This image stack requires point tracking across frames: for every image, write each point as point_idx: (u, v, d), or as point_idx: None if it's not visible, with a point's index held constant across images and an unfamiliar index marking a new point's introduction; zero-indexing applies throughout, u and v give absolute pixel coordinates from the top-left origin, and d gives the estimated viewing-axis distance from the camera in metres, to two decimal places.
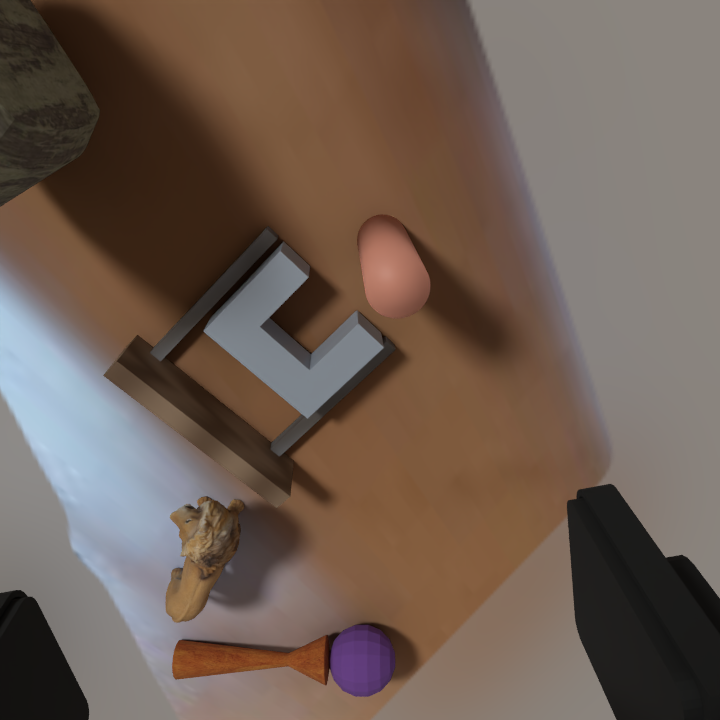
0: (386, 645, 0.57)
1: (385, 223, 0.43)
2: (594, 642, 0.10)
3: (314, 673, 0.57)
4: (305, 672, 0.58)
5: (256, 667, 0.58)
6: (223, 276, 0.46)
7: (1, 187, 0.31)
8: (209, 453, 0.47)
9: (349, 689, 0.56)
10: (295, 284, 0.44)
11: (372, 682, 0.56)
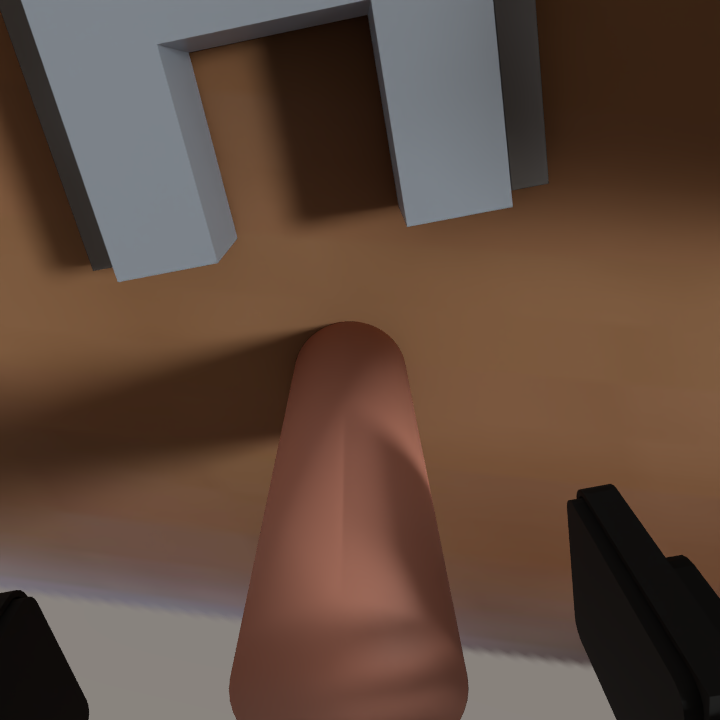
0: None
1: None
2: (594, 642, 0.10)
3: None
4: None
5: None
6: None
7: None
8: None
9: None
10: (412, 183, 0.15)
11: None
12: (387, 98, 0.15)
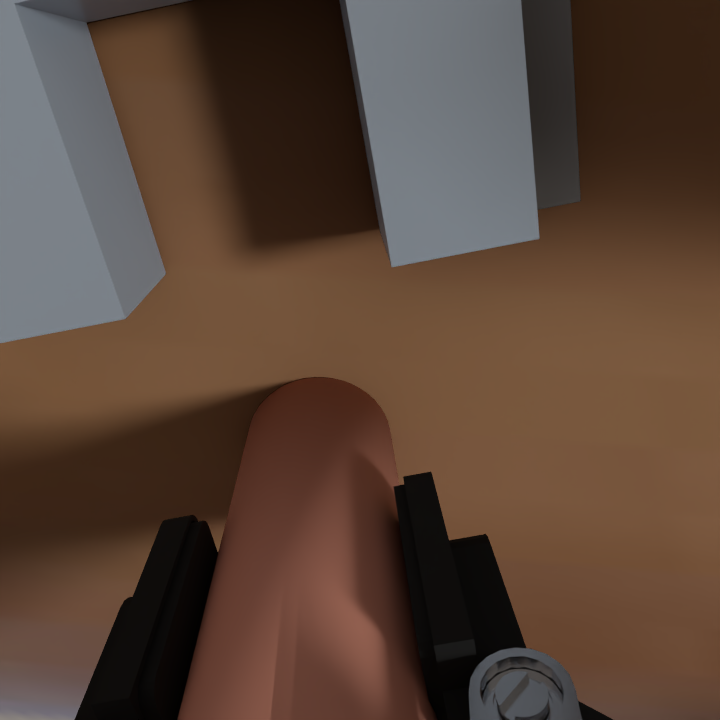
0: None
1: None
2: None
3: None
4: None
5: None
6: None
7: None
8: None
9: None
10: (399, 206, 0.11)
11: None
12: (361, 85, 0.10)
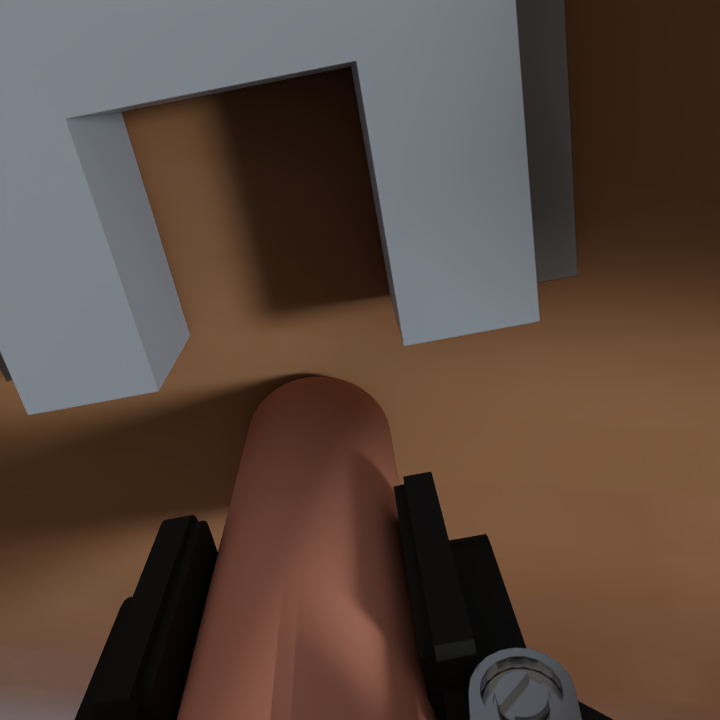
0: None
1: None
2: None
3: None
4: None
5: None
6: (561, 41, 0.12)
7: None
8: None
9: None
10: (411, 293, 0.12)
11: None
12: (378, 188, 0.11)
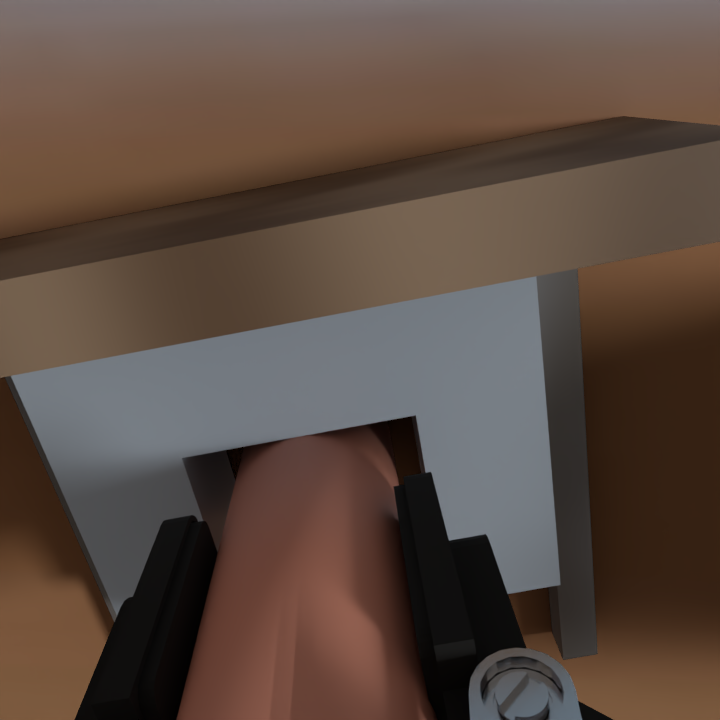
0: None
1: None
2: None
3: None
4: None
5: None
6: (587, 524, 0.17)
7: None
8: (149, 266, 0.10)
9: None
10: None
11: None
12: None
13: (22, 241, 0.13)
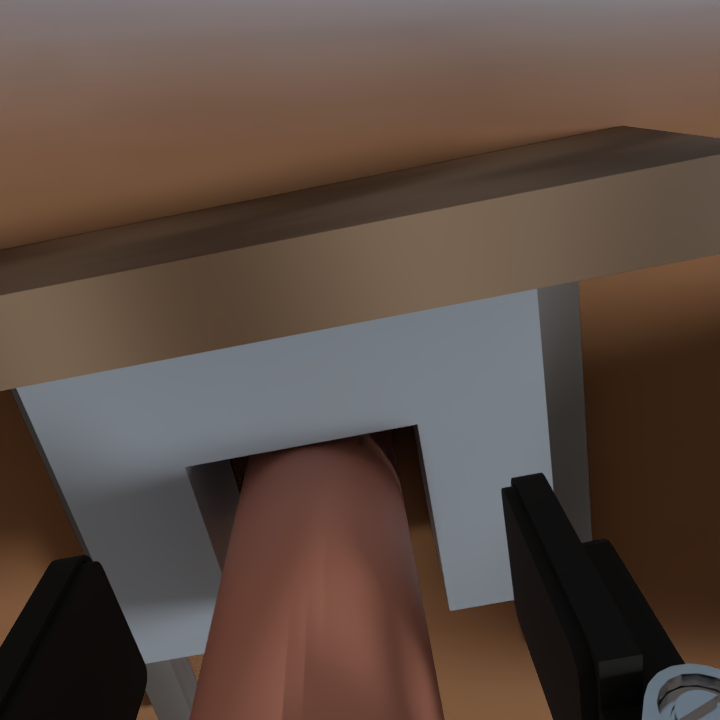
0: None
1: None
2: (526, 621, 0.11)
3: None
4: None
5: None
6: (588, 530, 0.17)
7: None
8: (153, 280, 0.10)
9: None
10: (457, 574, 0.14)
11: None
12: (432, 506, 0.14)
13: (26, 252, 0.13)
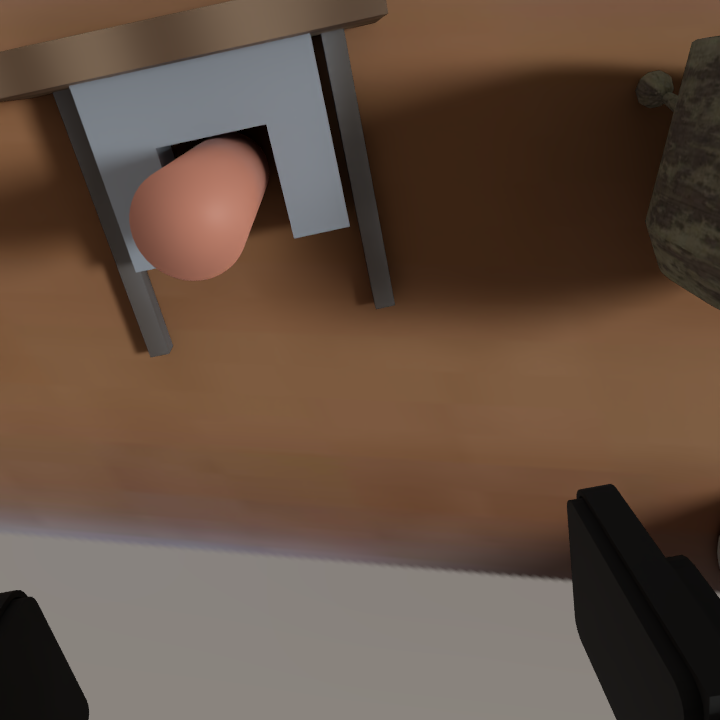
0: None
1: None
2: (594, 642, 0.10)
3: None
4: None
5: None
6: (376, 216, 0.31)
7: None
8: (138, 28, 0.24)
9: None
10: (295, 215, 0.29)
11: None
12: (278, 172, 0.28)
13: None
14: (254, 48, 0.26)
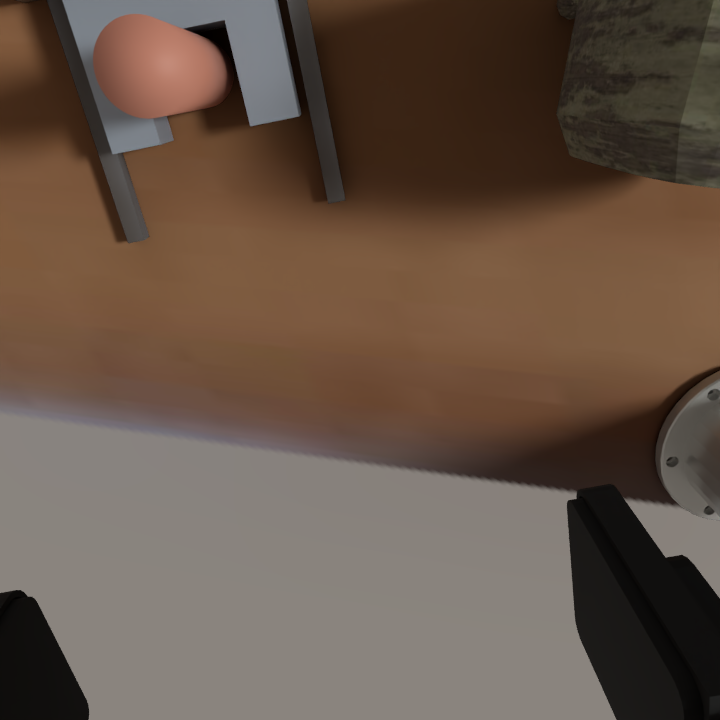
0: None
1: (220, 92, 0.33)
2: (594, 642, 0.10)
3: None
4: None
5: None
6: (327, 115, 0.35)
7: (628, 71, 0.23)
8: None
9: None
10: (251, 104, 0.33)
11: None
12: (235, 64, 0.32)
13: None
14: None
